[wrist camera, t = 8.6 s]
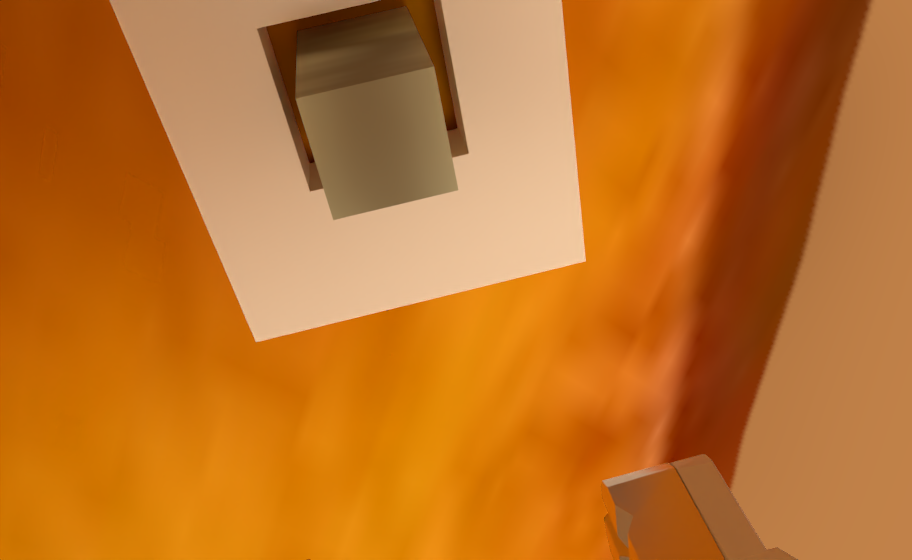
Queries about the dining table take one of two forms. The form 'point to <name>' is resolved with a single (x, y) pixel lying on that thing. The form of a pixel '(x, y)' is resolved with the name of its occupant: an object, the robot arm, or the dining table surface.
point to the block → (372, 113)
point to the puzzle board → (298, 182)
